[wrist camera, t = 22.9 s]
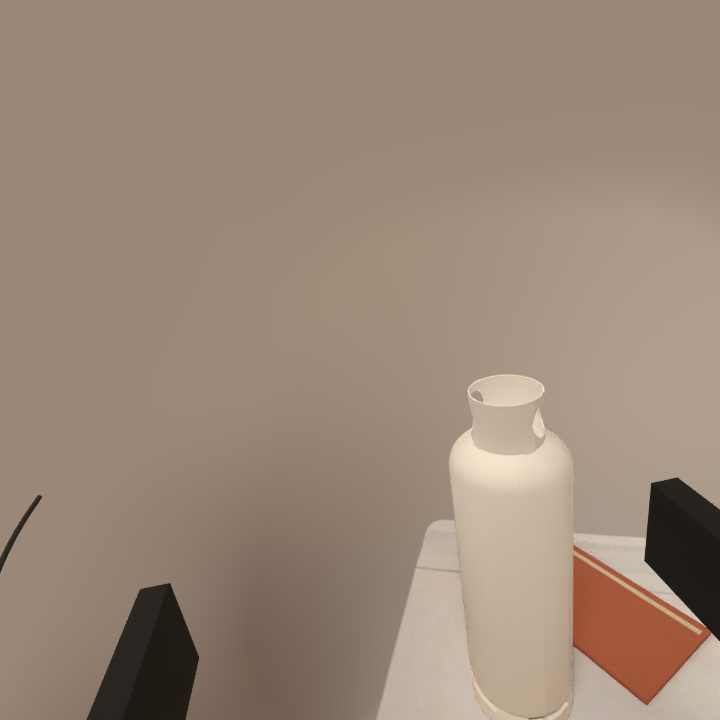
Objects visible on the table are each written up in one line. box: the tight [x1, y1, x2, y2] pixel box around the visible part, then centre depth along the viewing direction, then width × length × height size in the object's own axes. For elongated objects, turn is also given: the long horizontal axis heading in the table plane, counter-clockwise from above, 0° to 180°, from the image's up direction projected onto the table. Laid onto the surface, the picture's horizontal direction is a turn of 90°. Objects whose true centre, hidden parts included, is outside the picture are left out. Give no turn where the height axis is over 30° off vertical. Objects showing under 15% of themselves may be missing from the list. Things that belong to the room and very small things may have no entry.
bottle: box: [449, 374, 574, 720], centre depth 35 cm, size 8×8×28 cm
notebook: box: [573, 545, 711, 705], centre depth 44 cm, size 14×10×1 cm
